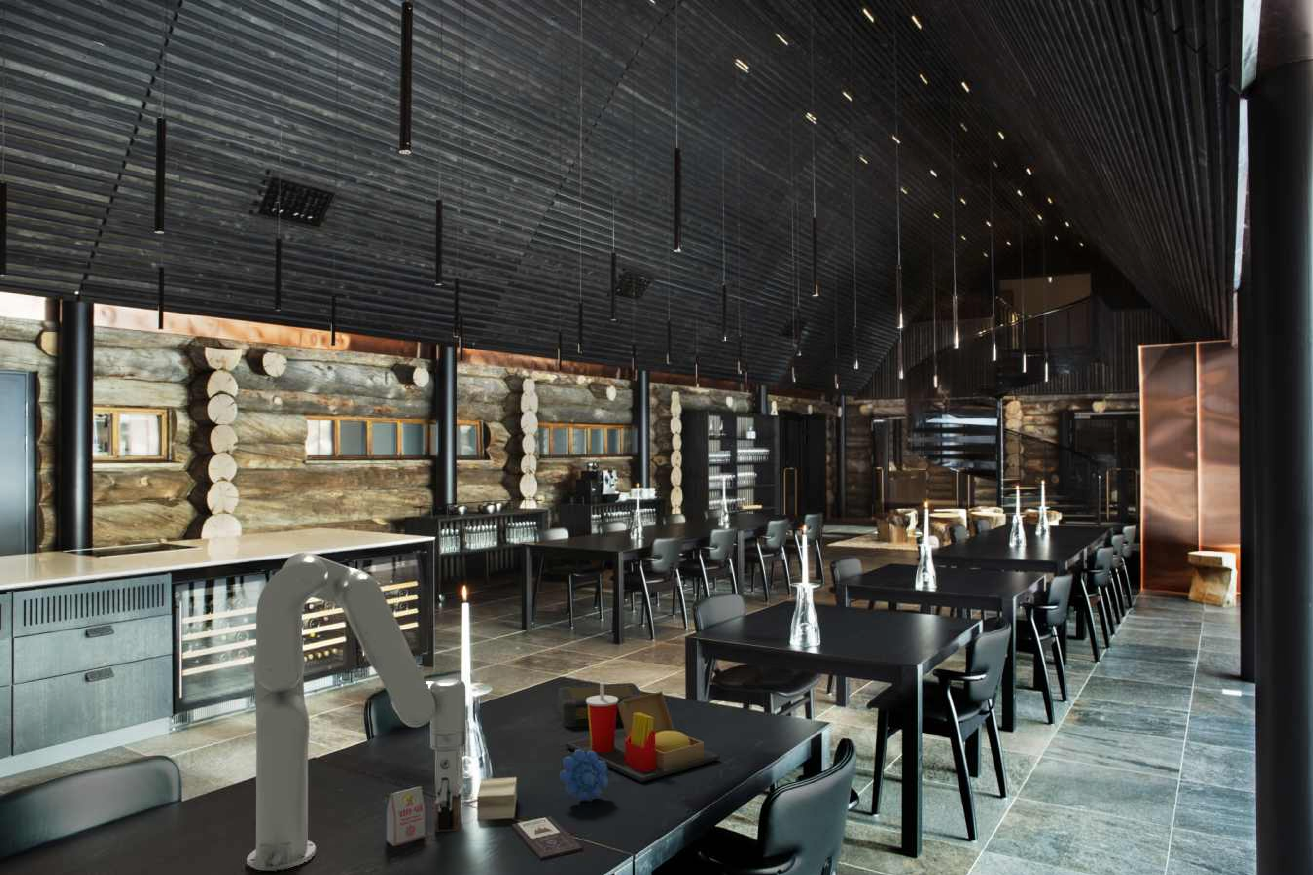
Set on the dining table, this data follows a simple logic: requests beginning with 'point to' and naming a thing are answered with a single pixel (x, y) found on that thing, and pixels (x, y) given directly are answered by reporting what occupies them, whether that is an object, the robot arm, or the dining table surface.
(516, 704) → the dining table surface
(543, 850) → the chocolate bar
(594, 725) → the fast food meal
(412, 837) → the white paper bag
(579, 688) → the cash box
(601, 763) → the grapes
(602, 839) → the dining table surface
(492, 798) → the block
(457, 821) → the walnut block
